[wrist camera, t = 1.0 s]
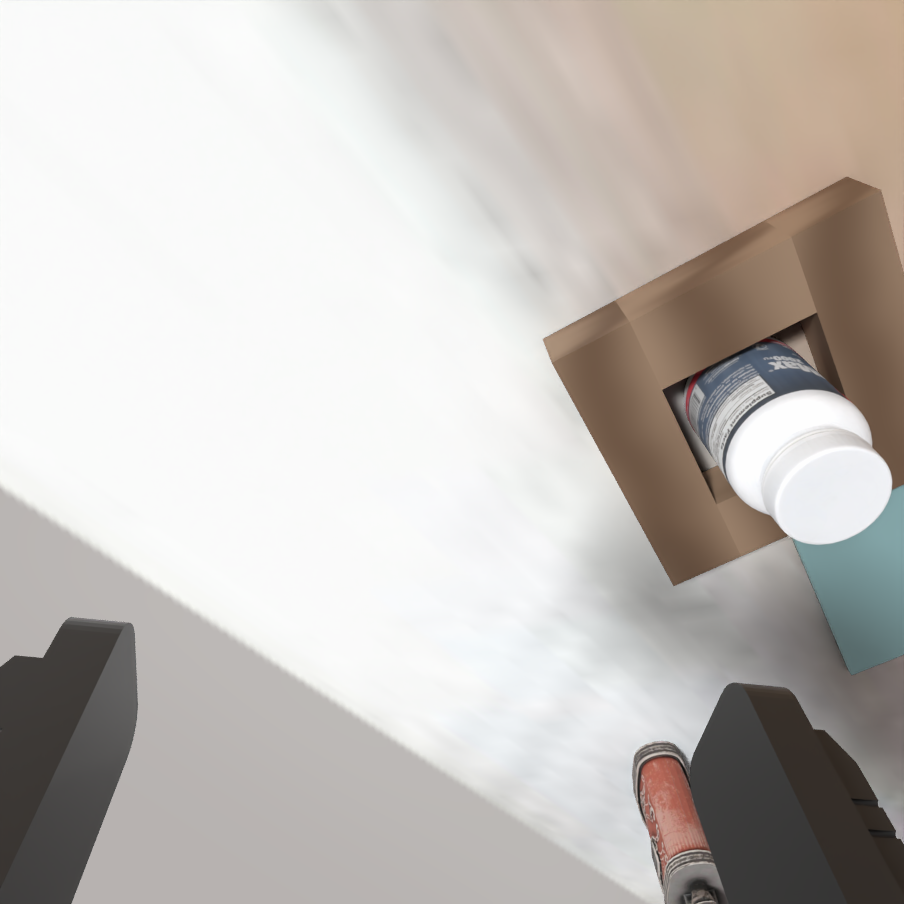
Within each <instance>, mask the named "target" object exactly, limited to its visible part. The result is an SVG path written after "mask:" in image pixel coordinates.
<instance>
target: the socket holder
mask: <svg viewBox="0 0 904 904" xmlns="http://www.w3.org/2000/svg"><path fill="white" fill-rule="evenodd" d="M799 321H800V322H801V325H802V327H803V330H804V333H805V336H806V339H807V341H808V344H809V347H810V350H811V353H812V356H813V358H814V361H815V364H816V367H817V370H818V372H819V374H820V375H821V376H822V377H824V378H825V379H826V380H827V381H828V382H829V383H830V384H831V385H832V386H834V387H835V388H836V389H837V390H838V391H839V392H840V393H841V394H843V395H844V396H845V397H846V398H847V399H848V400H850V401H851V402H852V403H853V404H854V405H855V406H856V407H857V408H858V410H859V411H860V412H861V413H862V414H863V416H864V417H865V419H866V421H867V423H868V425H869V428H870V431H871V436H872V448H873V449H874V450H875V451H876V452H877V453H878V454H879V455H880V456H881V457H882V458H883V459H884V461H885V462H886V464H887V465H888V467H889V469H890V472H891V476H892V489H895V488H897V487H899V486H902V485H904V272H903V269H902V265H901V261H900V258H899V254H898V250H897V247H896V243H895V240H894V236H893V232H892V229H891V225H890V221H889V218H888V214H887V210H886V207H885V203H884V199H883V196H882V192H881V190H879V189H877V188H874V187H872V186H869V185H867V184H864V183H861V182H859V181H856V180H854V179H851V178H849V177H846V178H844V179H842V180H840V181H838V182H836V183H834V184H833V185H831V186H829V187H827V188H825V189H823V190H821V191H819V192H818V193H816V194H814V195H812V196H810V197H808V198H806V199H804V200H803V201H801V202H799V203H797V204H795V205H793V206H791V207H789V208H788V209H786V210H784V211H782V212H780V213H778V214H776V215H774V216H773V217H771V218H769V219H767V220H765V221H763V222H761V223H759V224H758V225H756V226H754V227H752V228H750V229H748V230H746V231H744V232H743V233H741V234H739V235H737V236H735V237H733V238H731V239H729V240H728V241H726V242H724V243H722V244H720V245H718V246H716V247H714V248H713V249H711V250H709V251H707V252H705V253H703V254H701V255H700V256H698V257H696V258H694V259H692V260H690V261H688V262H686V263H685V264H683V265H681V266H679V267H677V268H675V269H673V270H671V271H670V272H668V273H666V274H664V275H662V276H660V277H658V278H656V279H655V280H653V281H651V282H649V283H647V284H645V285H643V286H641V287H640V288H638V289H636V290H634V291H632V292H630V293H628V294H626V295H625V296H623V297H621V298H619V299H617V300H615V301H613V302H611V303H610V304H608V305H606V306H604V307H602V308H600V309H598V310H596V311H595V312H593V313H591V314H589V315H587V316H585V317H583V318H581V319H580V320H578V321H576V322H574V323H572V324H570V325H568V326H566V327H565V328H563V329H561V330H559V331H557V332H555V333H553V334H551V335H550V336H548V337H546V338H544V339H543V341H544V344H545V346H546V349H547V351H548V354H549V357H550V359H551V362H552V364H553V366H554V368H555V369H556V371H557V373H558V375H559V377H560V379H561V380H562V382H563V384H564V386H565V388H566V390H567V391H568V393H569V395H570V397H571V399H572V401H573V402H574V404H575V406H576V408H577V410H578V412H579V413H580V415H581V417H582V419H583V421H584V423H585V424H586V426H587V428H588V430H589V432H590V434H591V435H592V437H593V439H594V441H595V443H596V445H597V446H598V448H599V450H600V452H601V454H602V456H603V457H604V459H605V461H606V463H607V465H608V466H609V468H610V470H611V472H612V474H613V476H614V477H615V479H616V481H617V483H618V485H619V487H620V488H621V490H622V492H623V494H624V496H625V498H626V499H627V501H628V503H629V505H630V507H631V509H632V510H633V512H634V514H635V516H636V518H637V520H638V521H639V523H640V525H641V527H642V529H643V531H644V532H645V534H646V536H647V538H648V540H649V542H650V543H651V545H652V547H653V549H654V551H655V553H656V554H657V556H658V558H659V560H660V562H661V564H662V565H663V567H664V569H665V571H666V573H667V575H668V576H669V578H670V580H671V582H672V584H673V586H675V585H677V584H680V583H682V582H684V581H686V580H689V579H691V578H693V577H695V576H698V575H700V574H702V573H704V572H707V571H709V570H711V569H713V568H716V567H718V566H720V565H723V564H725V563H727V562H729V561H732V560H734V559H736V558H738V557H741V556H743V555H745V554H747V553H750V552H752V551H754V550H757V549H759V548H761V547H763V546H766V545H768V544H770V543H772V542H775V541H777V540H779V539H781V538H784V537H786V536H788V535H787V534H786V533H785V532H784V531H783V530H782V529H781V528H780V527H779V525H778V524H777V523H776V522H775V520H774V519H773V518H772V517H771V515H768V514H765V513H762V512H760V511H757V510H756V509H754V508H752V507H750V506H749V505H747V504H746V503H745V502H744V501H743V500H742V499H741V498H740V497H739V496H738V495H737V494H736V492H735V491H734V490H733V488H732V487H731V486H730V484H729V483H728V481H727V479H726V478H725V476H724V474H723V473H722V471H721V469H720V468H719V466H716V467H714V468H711V469H709V470H707V471H705V472H703V473H701V471H700V469H699V467H698V465H697V462H696V460H695V458H694V456H693V454H692V452H691V450H690V448H689V446H688V444H687V441H686V439H685V437H684V435H683V433H682V431H681V429H680V427H679V425H678V423H677V420H676V418H675V416H674V414H673V412H672V410H671V408H670V406H669V404H668V402H667V399H666V397H665V395H664V393H663V391H662V390H663V389H665V388H667V387H669V386H671V385H673V384H675V383H677V382H679V381H681V380H683V379H685V378H687V377H689V376H691V375H693V374H695V373H697V372H699V371H701V370H703V369H705V368H707V367H709V366H711V365H713V364H715V363H717V362H719V361H721V360H723V359H725V358H727V357H729V356H731V355H733V354H735V353H737V352H739V351H741V350H743V349H745V348H747V347H749V346H751V345H753V344H755V343H757V342H759V341H761V340H763V339H765V338H767V337H769V336H771V335H773V334H775V333H777V332H779V331H781V330H783V329H785V328H787V327H789V326H791V325H793V324H795V323H797V322H799Z"/></svg>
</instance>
